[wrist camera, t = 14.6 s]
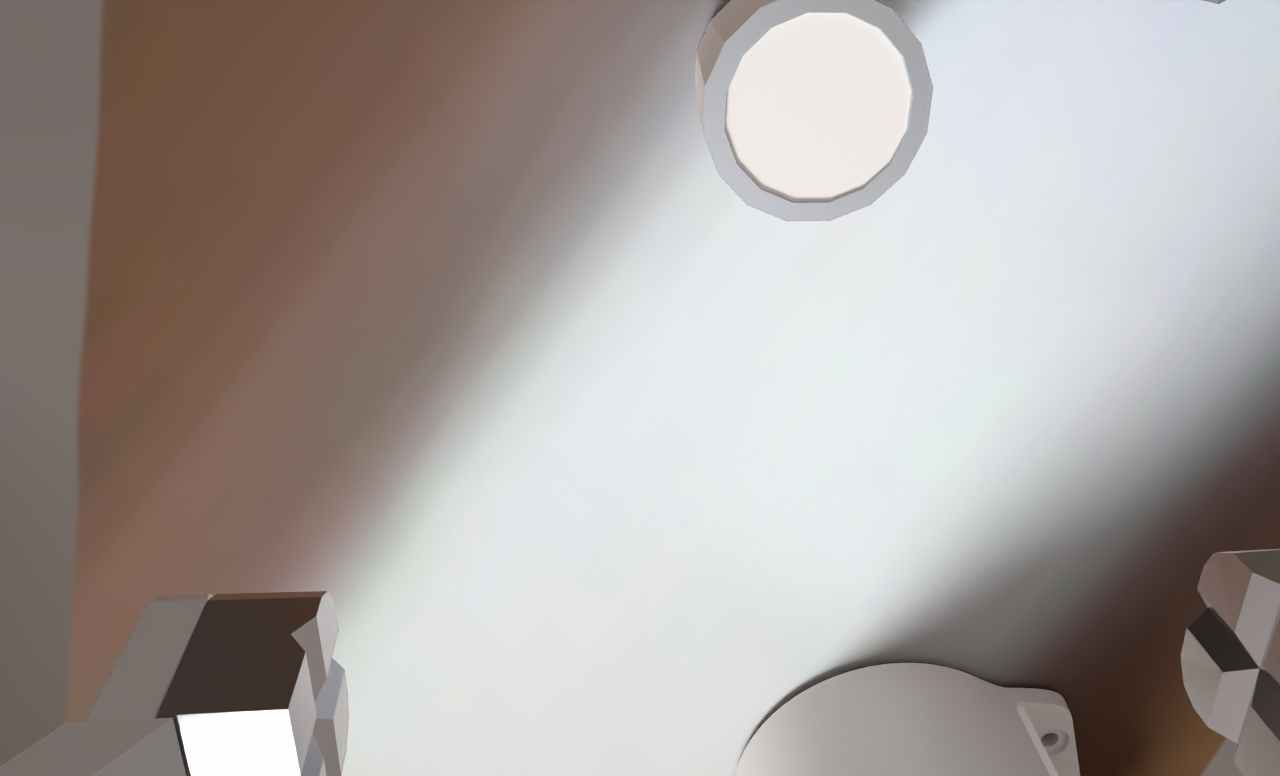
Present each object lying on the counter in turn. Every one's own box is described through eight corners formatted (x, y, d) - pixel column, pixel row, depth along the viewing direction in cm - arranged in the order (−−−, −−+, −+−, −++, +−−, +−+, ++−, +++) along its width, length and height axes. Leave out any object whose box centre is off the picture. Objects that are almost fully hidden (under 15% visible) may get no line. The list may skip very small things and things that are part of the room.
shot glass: (862, -55, 37) (926, -35, 31) (879, 145, 40) (941, 200, 34) (660, -15, 37) (684, 13, 31) (692, 182, 40) (720, 244, 34)
